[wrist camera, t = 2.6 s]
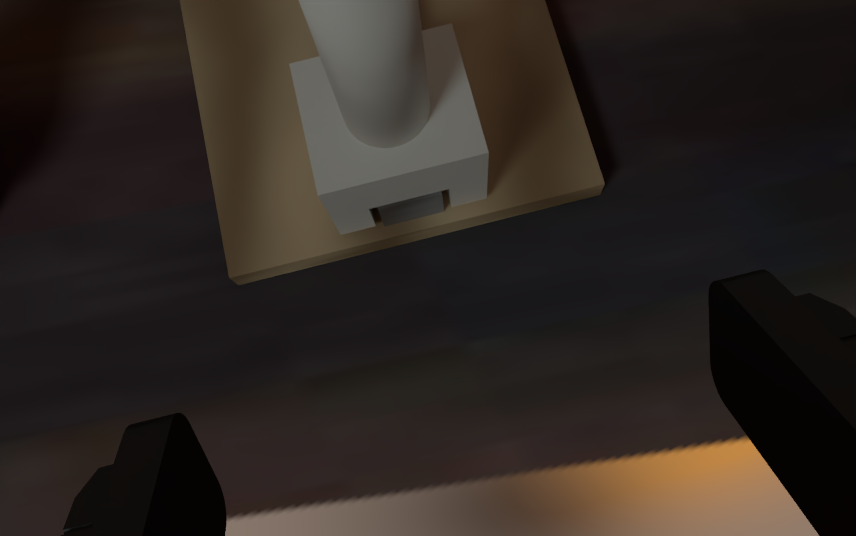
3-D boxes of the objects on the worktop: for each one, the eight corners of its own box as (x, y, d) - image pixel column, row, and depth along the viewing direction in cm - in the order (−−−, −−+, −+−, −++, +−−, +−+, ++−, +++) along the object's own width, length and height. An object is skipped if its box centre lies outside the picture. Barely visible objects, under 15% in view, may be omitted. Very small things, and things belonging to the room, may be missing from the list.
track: (238, 285, 30) (180, 240, 24) (175, -63, 35) (113, -173, 29) (599, 194, 30) (630, 128, 24) (491, -141, 35) (494, -267, 29)
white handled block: (340, 235, 29) (232, 49, 16) (315, 120, 30) (196, -137, 17) (486, 198, 29) (496, -16, 16) (454, 85, 30) (440, -198, 17)
